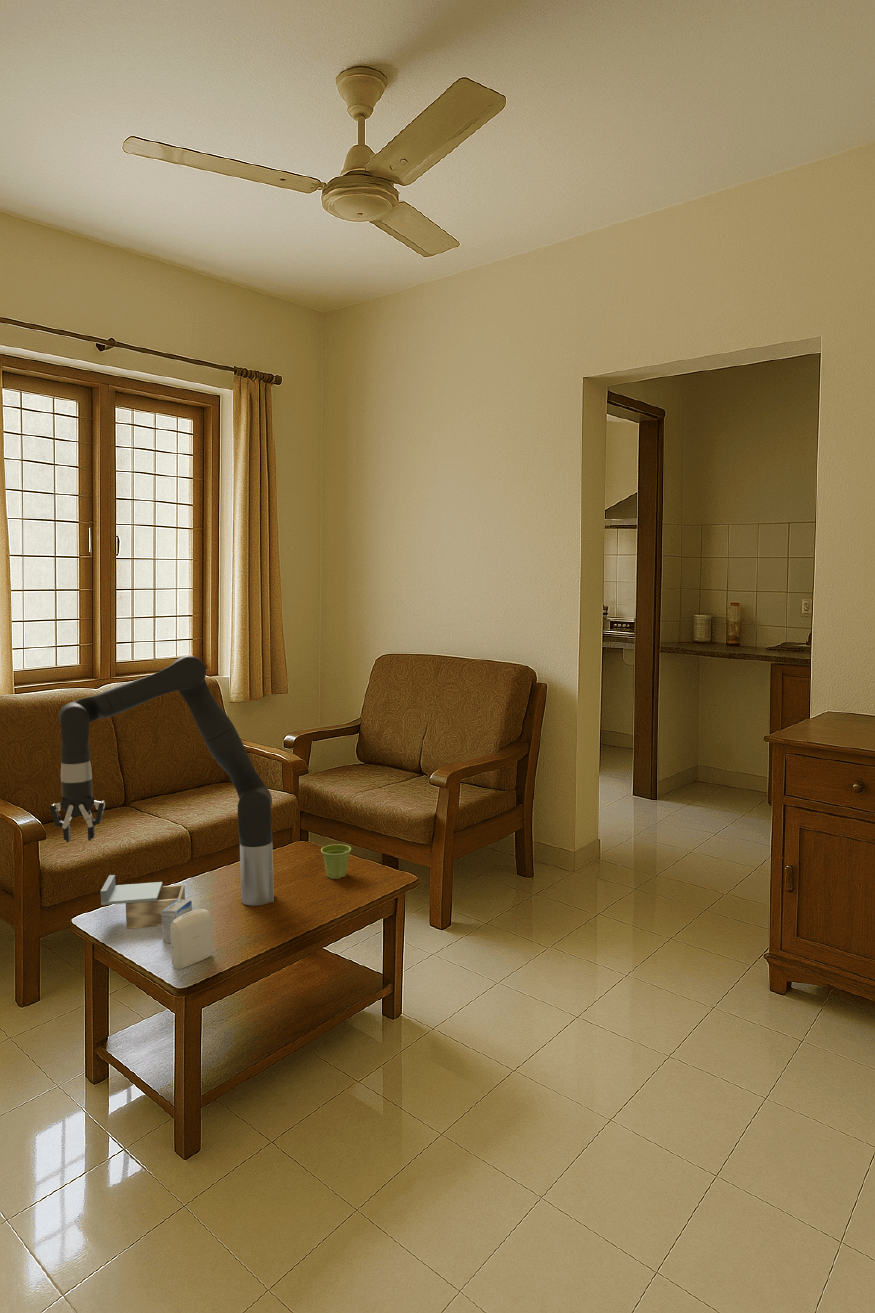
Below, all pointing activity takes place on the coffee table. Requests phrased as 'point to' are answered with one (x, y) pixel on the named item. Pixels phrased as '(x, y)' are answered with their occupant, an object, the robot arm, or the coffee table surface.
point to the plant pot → (336, 860)
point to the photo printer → (191, 938)
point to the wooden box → (152, 908)
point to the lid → (129, 892)
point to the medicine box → (173, 916)
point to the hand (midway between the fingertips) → (79, 840)
